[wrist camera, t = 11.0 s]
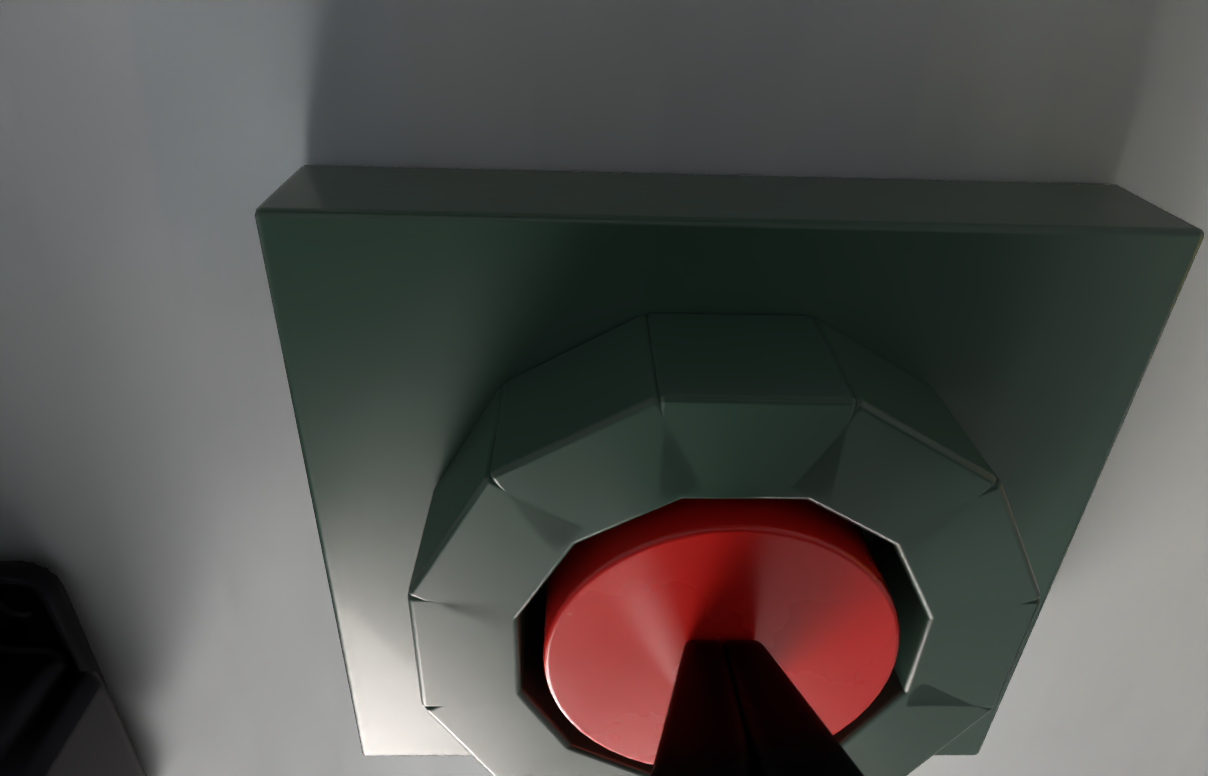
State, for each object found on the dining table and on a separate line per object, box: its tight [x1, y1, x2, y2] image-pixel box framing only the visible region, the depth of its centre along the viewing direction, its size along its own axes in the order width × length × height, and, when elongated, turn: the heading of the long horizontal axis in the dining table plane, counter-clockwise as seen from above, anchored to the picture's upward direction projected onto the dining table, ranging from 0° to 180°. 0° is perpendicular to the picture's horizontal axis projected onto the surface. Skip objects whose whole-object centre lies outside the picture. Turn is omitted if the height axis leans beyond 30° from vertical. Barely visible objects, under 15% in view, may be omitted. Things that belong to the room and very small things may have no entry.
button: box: [543, 498, 899, 765], centre depth 10 cm, size 4×4×2 cm
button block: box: [255, 165, 1204, 776], centre depth 11 cm, size 10×9×4 cm
